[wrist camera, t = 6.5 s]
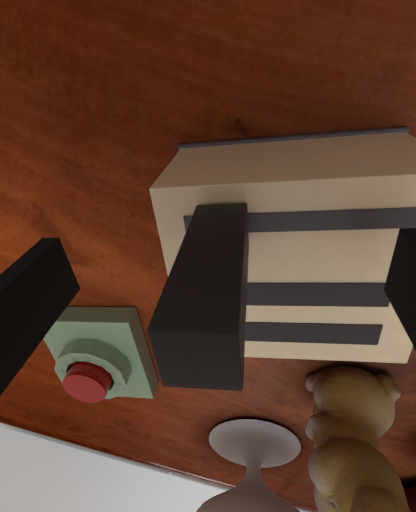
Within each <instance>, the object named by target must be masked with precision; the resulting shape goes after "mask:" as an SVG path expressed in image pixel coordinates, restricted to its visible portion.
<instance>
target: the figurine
mask: <svg viewBox="0 0 416 512" xmlns="http://www.w3.org/2000/svg"><path fill="white" fill-rule="evenodd" d="M305 385H306V388H307V390H308V391H310V392H313V398H314V407H313V416H311V417H310V418H309V419H308V421H307V424H306V427H305V433H306V435H307V436H308V437H309V438H310V439H312V440H313V441H314V448H315V449H314V450H313V451H312V452H311V454H310V456H309V458H308V470H309V474H310V477H311V479H312V481H313V483H314V484H315V487H314V498H315V501H316V505H317V507H318V510H319V512H411V511H410V509H409V506H408V503H407V500H406V496H405V492H404V489H403V486H402V483H401V480H400V478H399V476H398V474H397V472H396V470H395V469H394V467H393V466H392V464H391V463H390V462H389V461H388V459H387V458H386V457H385V456H384V455H383V454H381V453H380V452H379V449H378V439H379V438H380V437H381V436H382V435H383V434H384V433H385V432H386V431H387V430H388V429H389V428H390V426H391V425H392V423H393V420H394V417H395V401H396V399H398V398H400V394H401V393H400V390H399V389H398V387H397V385H396V383H395V382H394V380H393V379H392V378H391V377H390V376H388V375H386V374H383V373H379V374H377V375H373V374H371V373H370V372H368V371H366V370H364V369H361V368H358V367H353V366H344V365H341V366H332V367H328V368H326V369H323V370H320V371H318V372H315V373H312V374H310V375H309V376H307V378H306V382H305Z"/></svg>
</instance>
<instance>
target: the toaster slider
mask: <svg viewBox="0 0 416 512" xmlns="http://www.w3.org/2000/svg"><path fill="white" fill-rule="evenodd" d="M248 257H249V234H248V208H247V203H234V204H211V205H197V206H196V208H195V211H194V213H193V216H192V218H191V221H190V223H189V226H188V228H187V231H186V233H185V236H184V238H183V241H182V243H181V246H180V248H179V251H178V254H177V256H176V259H175V261H174V264H173V266H172V269H171V271H170V274H169V276H168V279H167V281H166V284H165V286H164V289H163V291H162V294H161V296H160V299H159V302H158V304H157V307H156V309H155V312H154V314H153V317H152V319H151V322H150V324H149V327H148V329H147V333H148V336H149V339H150V343H151V346H152V350H153V353H154V356H155V360H156V363H157V367H158V370H159V373H160V377H161V380H162V383H163V386H166V387H184V388H201V389H218V390H236V391H241V390H242V389H243V374H244V351H245V328H246V304H247V281H248Z"/></svg>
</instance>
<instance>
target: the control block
mask: <svg viewBox="0 0 416 512" xmlns="http://www.w3.org/2000/svg"><path fill="white" fill-rule="evenodd" d="M43 339H44V341H45V343H46V345H47V346H48V348H49V350H50V352H51V353H52V355H53V357H54V359H55V361H56V365H55V369H54V370H55V372H56V373H57V375H58V377H59V379H60V380H61V382H63V379H64V377H65V376H66V374H67V372H68V371H69V369H70V367H71V366H72V364H73V363H75V362H77V361H82V362H91V363H93V364H96V365H98V366H101V367H103V368H104V369H105V370H106V371H108V372H109V373H110V374H111V375H112V383H111V385H110V387H109V390H108V392H107V394H106V397H105V398H104V399H110V398H113V397H116V396H122V397H137V398H152V399H153V398H154V395H155V392H156V389H157V385H158V379H157V376H156V372H155V369H154V366H153V362H152V359H151V356H150V353H149V349H148V346H147V343H146V340H145V336H144V333H143V330H142V326H141V323H140V320H139V317H138V313H137V310H136V308H135V307H69V306H67V307H66V309H65V310H64V311H63V313H62V314H61V315H60V317H59V318H58V319H57V321H56V322H55V323H54V325H53V326H52V327H51V329H50V330H49V331H48V333H47V334H46V335H45V337H44V338H43Z"/></svg>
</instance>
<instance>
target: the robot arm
mask: <svg viewBox="0 0 416 512" xmlns="http://www.w3.org/2000/svg"><path fill="white" fill-rule="evenodd" d="M79 290H80V287H79V285H78V282H77V280H76V277H75V275H74V273H73V270H72V268H71V266H70V263H69V261H68V258H67V256H66V254H65V251H64V249H63V246H62V244H61V242H60V239H59V238H42V239H41V240H40V241H38V242H37V243H36V244H35V245H34V246H33V247H32V248H30V249H29V250H28V251H27V252H26V253H25V254H24V255H22V256H21V257H20V258H19V259H18V260H17V261H15V262H14V263H13V264H12V265H11V266H10V267H9V268H7V269H6V270H5V271H4V272H3V273H2V274H0V396H1V394H2V393H3V392H4V390H5V389H6V388H7V386H8V385H9V384H10V382H11V381H12V380H13V378H14V377H15V376H16V374H17V373H18V372H19V370H20V369H21V368H22V366H23V365H24V364H25V362H26V361H27V360H28V358H29V357H30V355H31V354H32V353H33V351H34V350H35V349H36V347H37V346H38V345H39V343H40V342H41V341H42V339H43V338H44V337H45V335H46V334H47V333H48V331H49V330H50V329H51V327H52V326H53V325H54V323H55V322H56V321H57V319H58V318H59V317H60V315H61V314H62V313H63V311H64V310H65V309H66V307H67V306H68V305H69V303H70V302H71V301H72V299H73V298H74V297H75V295H76V294H77V292H78V291H79ZM384 292H385V293H386V295H387V297H388V299H389V301H390V303H391V305H392V307H393V309H394V310H395V312H396V314H397V316H398V318H399V320H400V322H401V324H402V326H403V327H404V329H405V331H406V333H407V335H408V337H409V339H410V341H411V343H412V344H413V346H414V348H415V350H416V228H400V229H399V233H398V237H397V241H396V244H395V248H394V252H393V256H392V260H391V264H390V267H389V271H388V275H387V279H386V283H385V287H384Z"/></svg>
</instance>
